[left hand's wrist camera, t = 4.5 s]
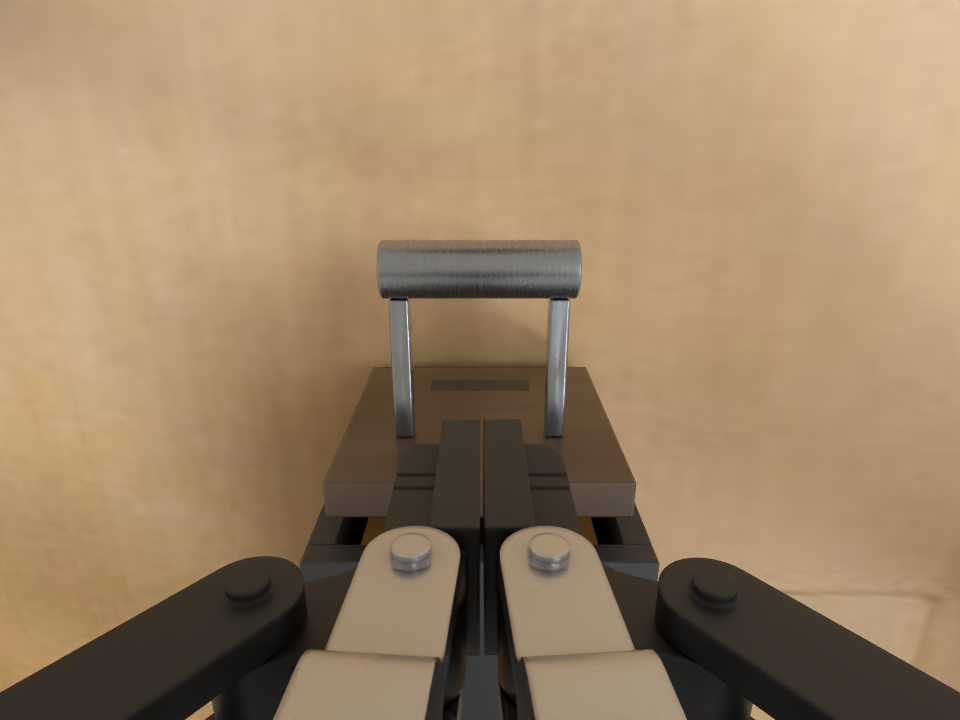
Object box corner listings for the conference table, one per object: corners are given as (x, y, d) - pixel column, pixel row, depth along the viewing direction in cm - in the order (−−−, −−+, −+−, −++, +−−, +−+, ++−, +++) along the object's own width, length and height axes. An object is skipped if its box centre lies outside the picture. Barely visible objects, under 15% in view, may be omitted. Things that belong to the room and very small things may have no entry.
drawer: (363, 213, 24) (299, 261, 16) (596, 213, 24) (659, 261, 16) (396, 723, 33) (367, 929, 25) (564, 723, 33) (593, 929, 25)
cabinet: (365, 401, 28) (298, 562, 18) (594, 401, 28) (660, 562, 18) (389, 750, 35) (352, 1007, 25) (570, 750, 35) (607, 1008, 25)
